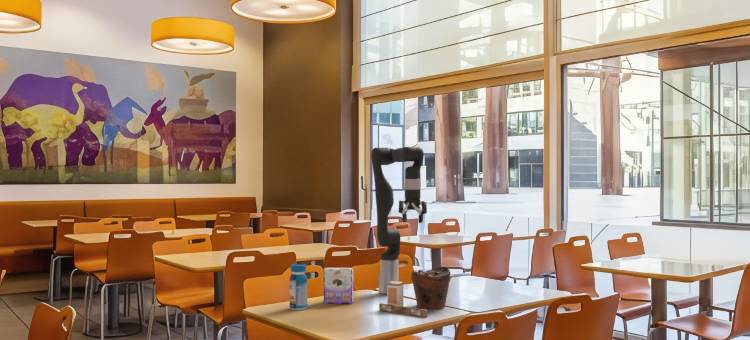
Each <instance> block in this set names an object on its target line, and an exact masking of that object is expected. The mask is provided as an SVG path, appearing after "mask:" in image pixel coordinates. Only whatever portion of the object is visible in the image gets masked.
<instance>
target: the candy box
mask: <svg viewBox="0 0 750 340" xmlns="http://www.w3.org/2000/svg"><path fill="white" fill-rule="evenodd" d="M322 272H323V304H332V305H333V304H337V305H339V304H340V305H341V304H345V305H346V304H347V305H349V304H353V303H354V268H353V267H324V268H323V271H322Z"/></svg>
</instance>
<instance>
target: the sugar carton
mask: <svg viewBox="0 0 750 340" xmlns="http://www.w3.org/2000/svg"><path fill="white" fill-rule="evenodd" d="M404 284H405V283H404V282H403V281H398V282H397V281H392V282H388V283H387V294H386V295H387V296H386V298H387V299H386V304H388V305H396V306H403V307H404Z"/></svg>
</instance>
